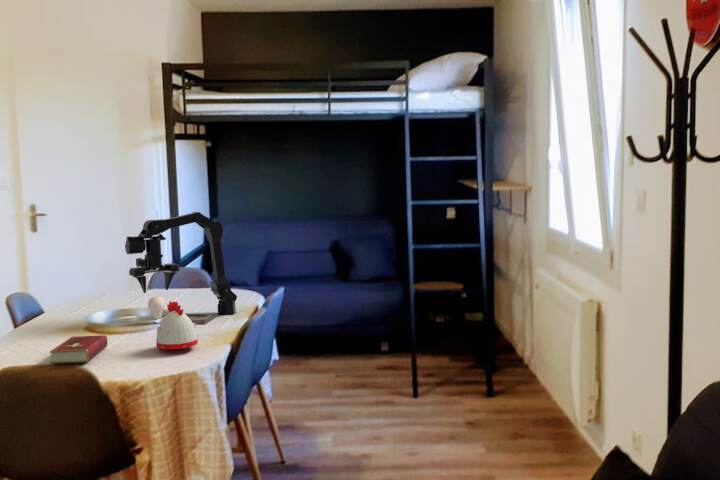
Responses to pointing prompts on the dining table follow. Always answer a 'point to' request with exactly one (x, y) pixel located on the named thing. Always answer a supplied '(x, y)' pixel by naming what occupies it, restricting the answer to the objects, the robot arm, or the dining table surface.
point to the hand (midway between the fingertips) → (155, 291)
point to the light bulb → (156, 307)
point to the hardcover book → (79, 349)
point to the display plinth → (201, 318)
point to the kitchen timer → (176, 329)
